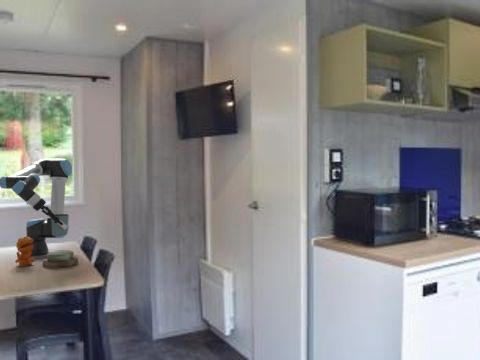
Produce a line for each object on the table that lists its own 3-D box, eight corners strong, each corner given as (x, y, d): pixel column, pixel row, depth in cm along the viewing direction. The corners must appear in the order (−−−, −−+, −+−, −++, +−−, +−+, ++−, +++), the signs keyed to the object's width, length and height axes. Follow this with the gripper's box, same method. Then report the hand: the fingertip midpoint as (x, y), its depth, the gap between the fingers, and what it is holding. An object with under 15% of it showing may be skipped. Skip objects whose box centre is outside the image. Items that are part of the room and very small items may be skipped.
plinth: (54, 259, 286) (54, 249, 285) (84, 261, 283) (84, 250, 283) (36, 267, 266) (35, 255, 266) (67, 268, 263) (67, 257, 263)
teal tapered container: (47, 235, 271) (47, 215, 270) (59, 232, 280) (59, 213, 279) (60, 236, 267) (60, 216, 266) (72, 233, 276) (72, 214, 276)
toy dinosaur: (27, 267, 266) (26, 237, 265) (11, 266, 268) (10, 236, 267) (39, 263, 277) (38, 234, 276) (23, 262, 279) (23, 233, 278)
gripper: (30, 205, 275) (59, 228, 283) (32, 208, 256) (62, 234, 264) (40, 196, 278) (67, 219, 286) (42, 199, 258) (72, 224, 266)
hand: (65, 226), depth 275 cm, fingers closed on teal tapered container, 10 cm apart
